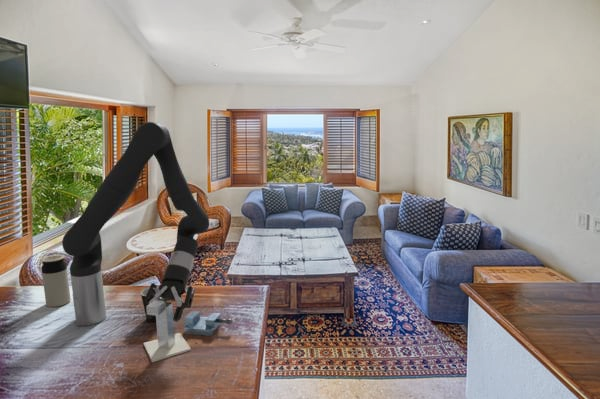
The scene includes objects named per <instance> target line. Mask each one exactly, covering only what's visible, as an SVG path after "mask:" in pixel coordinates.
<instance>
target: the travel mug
mask: <svg viewBox="0 0 600 399" xmlns="http://www.w3.org/2000/svg"><path fill="white" fill-rule="evenodd" d="M65 257H66V256H65V255H64V254H52V255H51V254H50V255H47V256H43V257H42V258H41V259H40V261H41V262H42V266H41V268H40V270H41V274H42V277H41V278H42V284H43V292H44V300H45V306H46V307H50V308H57V307H62V306H65V305H66V304H67V305H68V303H70V302H71V300H72V299H71V292H70V290H71V289H70V285H69V276H68V267H67V263H66V262H65Z"/></svg>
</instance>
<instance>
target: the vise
mask: <svg viewBox="0 0 600 399" xmlns="http://www.w3.org/2000/svg"><path fill="white" fill-rule="evenodd" d="M221 316H222V315H221V313H220V312H211V313H210V314H209V315H208V316H201V312H200V311H197V310H190V311H189V313H188V314H186V315H185V316H184V318H183V322H184V334H187V335H188V334H191V335H199V336H206V337H207V336H209V337H212V335H213V334H214V333H215V332H216V330H218V328H219V327H220V326H221V324H227V325H232V324H233V320H232V318H228V319H224V318H221Z"/></svg>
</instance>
